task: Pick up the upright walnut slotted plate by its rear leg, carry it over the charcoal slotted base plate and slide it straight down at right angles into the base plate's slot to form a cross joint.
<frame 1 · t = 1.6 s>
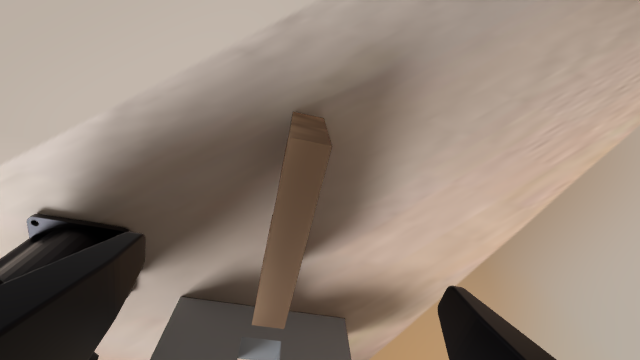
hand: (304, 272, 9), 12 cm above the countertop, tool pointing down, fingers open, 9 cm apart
cross plate: (290, 196, 22), on the countertop
base plate: (263, 318, 26), on the countertop
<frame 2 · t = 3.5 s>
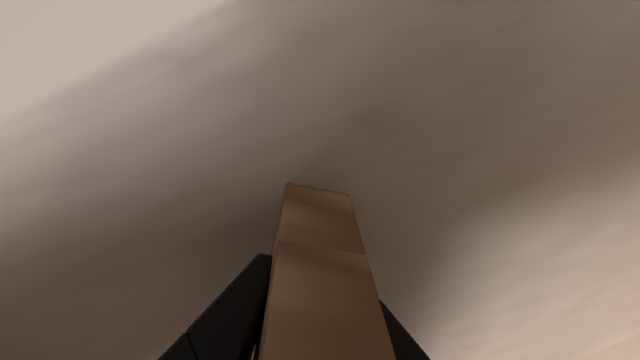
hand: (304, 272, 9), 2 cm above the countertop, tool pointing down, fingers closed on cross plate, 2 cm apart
cross plate: (281, 325, 12), on the countertop, touching gripper
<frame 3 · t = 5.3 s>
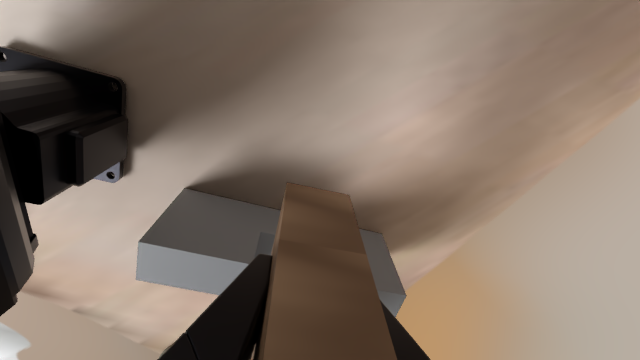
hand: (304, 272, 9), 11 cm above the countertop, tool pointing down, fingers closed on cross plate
cross plate: (282, 325, 12), point 10 cm above the countertop, touching gripper
base plate: (283, 226, 22), on the countertop
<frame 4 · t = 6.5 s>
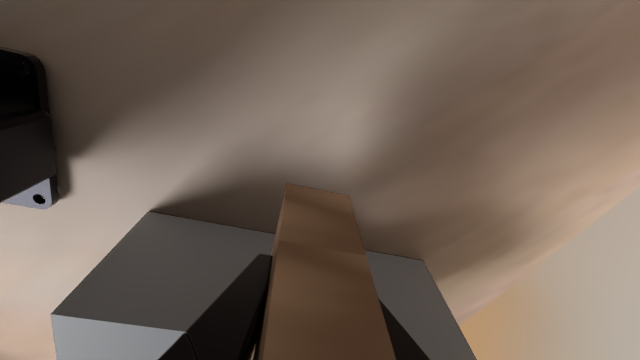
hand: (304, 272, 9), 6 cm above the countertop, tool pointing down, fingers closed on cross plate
cross plate: (281, 325, 12), point 4 cm above the countertop, touching gripper
base plate: (289, 256, 16), on the countertop
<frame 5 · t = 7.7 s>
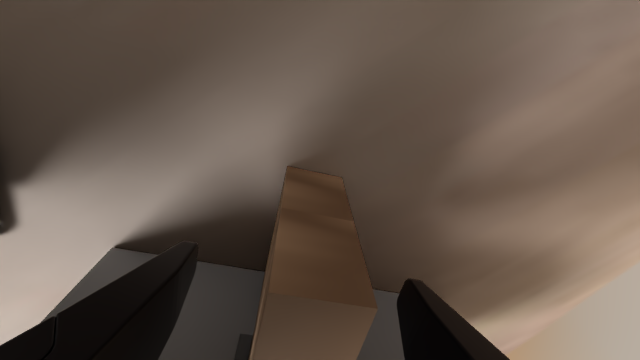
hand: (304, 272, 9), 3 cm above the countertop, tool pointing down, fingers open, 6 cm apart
cross plate: (282, 297, 13), on the countertop, touching base plate
base plate: (284, 297, 13), on the countertop
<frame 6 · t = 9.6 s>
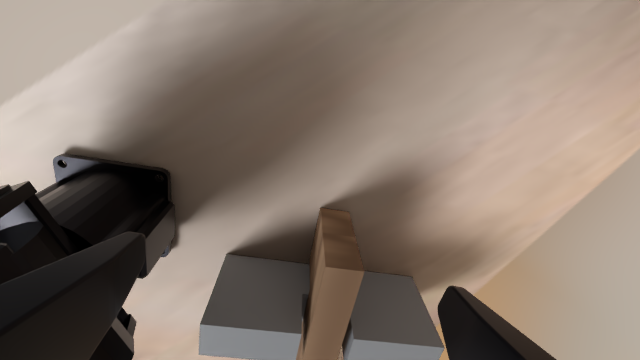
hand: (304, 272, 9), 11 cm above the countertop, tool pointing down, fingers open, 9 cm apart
cross plate: (318, 278, 23), on the countertop, touching base plate
base plate: (319, 278, 23), on the countertop
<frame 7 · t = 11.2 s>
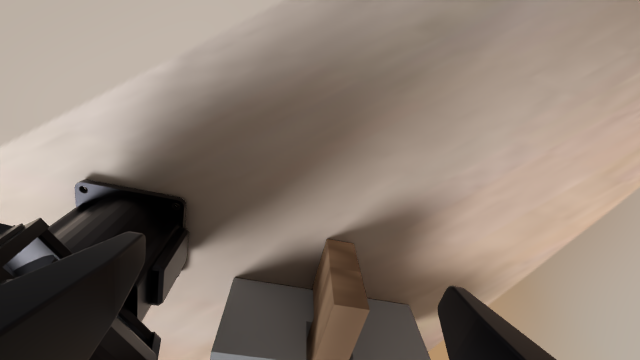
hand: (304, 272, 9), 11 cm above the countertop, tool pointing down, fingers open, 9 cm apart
cross plate: (320, 303, 24), on the countertop, touching base plate
base plate: (321, 303, 24), on the countertop
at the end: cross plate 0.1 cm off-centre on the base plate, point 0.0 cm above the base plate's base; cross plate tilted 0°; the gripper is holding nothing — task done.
